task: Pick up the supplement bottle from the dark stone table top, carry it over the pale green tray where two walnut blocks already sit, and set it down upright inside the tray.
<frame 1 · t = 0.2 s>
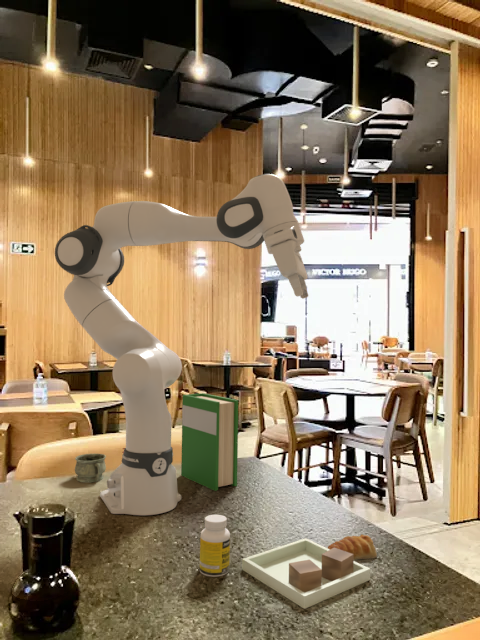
hand: (302, 296, 119), 52 cm above the table, tool tilted 20°, fingers open, 8 cm apart
walnut block B: (304, 590, 86), point 1 cm above the table, touching tray
pastry: (353, 558, 101), on the table
supplement bottle: (214, 573, 93), on the table
walnut block A: (337, 577, 91), point 1 cm above the table, touching tray
vessel: (90, 479, 149), on the table
tray: (305, 577, 92), on the table
hardback book: (208, 481, 149), on the table
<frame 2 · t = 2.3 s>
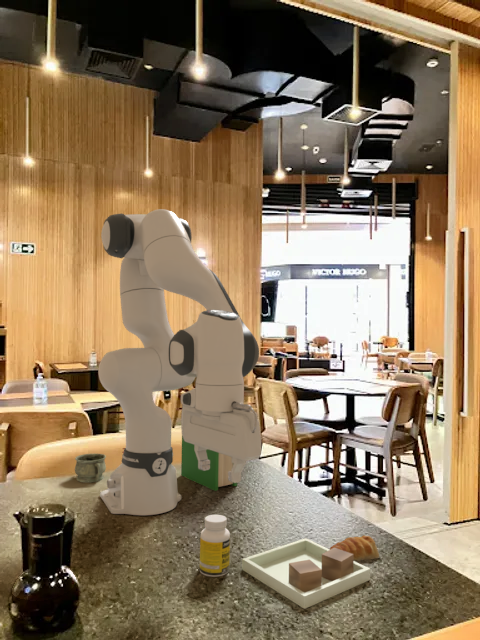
hand: (218, 475, 94), 17 cm above the table, tool pointing down, fingers open, 8 cm apart
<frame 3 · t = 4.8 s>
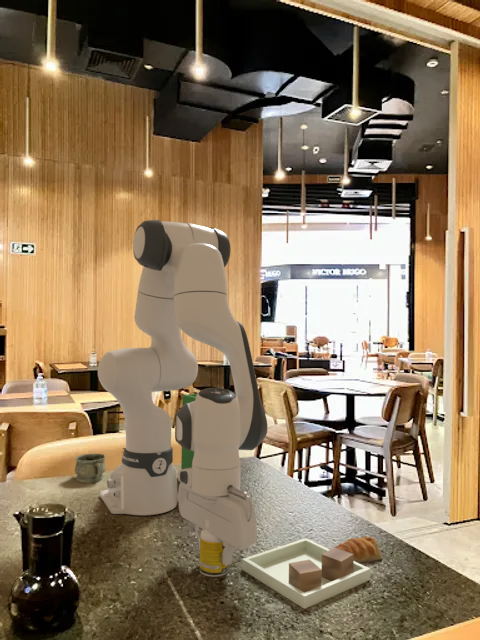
hand: (214, 556, 94), 3 cm above the table, tool pointing down, fingers closed on supplement bottle, 5 cm apart
supplement bottle: (214, 573, 93), on the table, touching gripper
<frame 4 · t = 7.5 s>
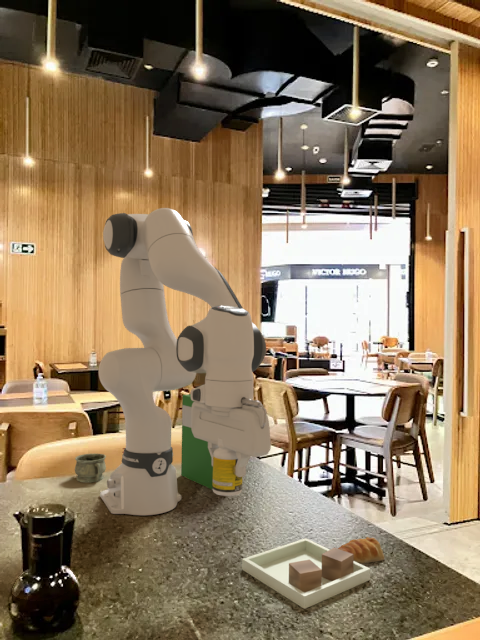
hand: (228, 471, 94), 18 cm above the table, tool pointing down, fingers closed on supplement bottle, 5 cm apart
supplement bottle: (227, 493, 94), point 14 cm above the table, touching gripper
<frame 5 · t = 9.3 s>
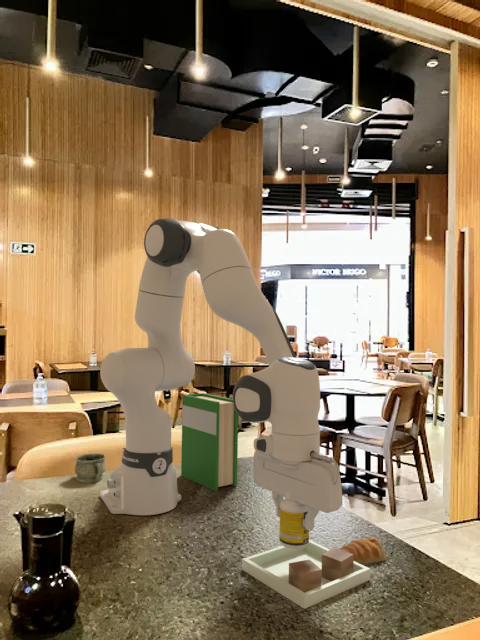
hand: (294, 522, 94), 9 cm above the table, tool pointing down, fingers closed on supplement bottle, 5 cm apart
supplement bottle: (294, 544, 94), point 5 cm above the table, touching gripper
when the fingers open (5 cm above the table, at t = 10.6 s): supplement bottle stays where it is, resting on tray.
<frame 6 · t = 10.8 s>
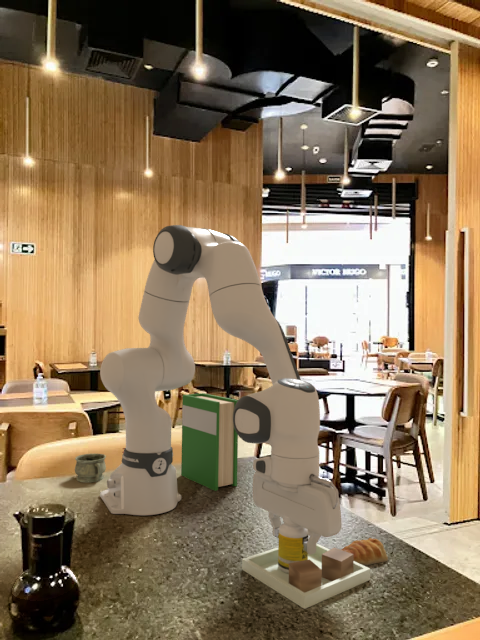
hand: (293, 544, 94), 5 cm above the table, tool pointing down, fingers open, 7 cm apart
supplement bottle: (292, 569, 94), resting on tray
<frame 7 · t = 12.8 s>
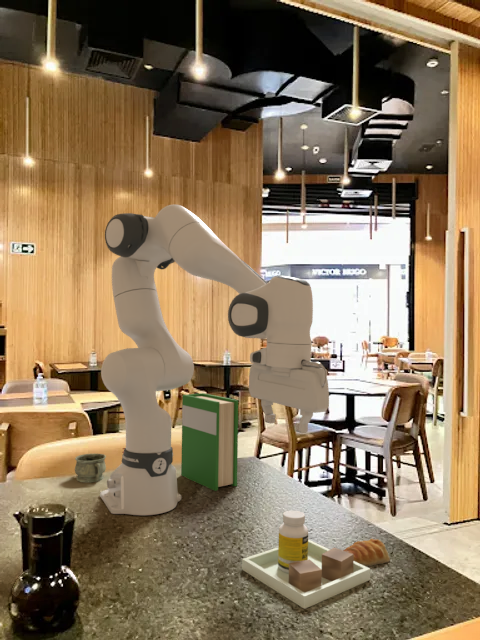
hand: (285, 427, 102), 25 cm above the table, tool pointing down, fingers open, 8 cm apart
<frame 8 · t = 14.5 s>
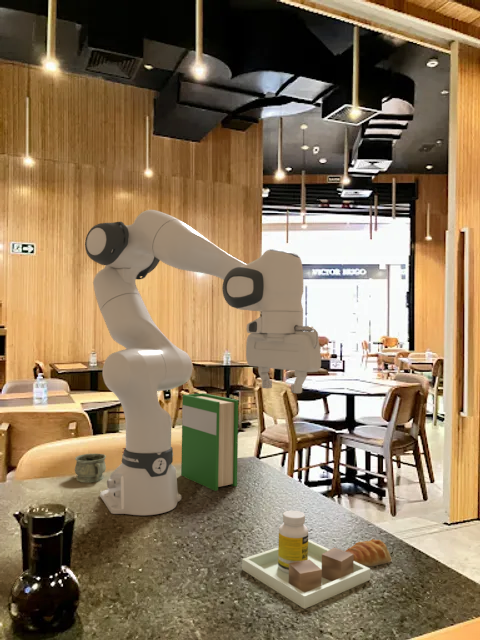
hand: (281, 390, 110), 31 cm above the table, tool pointing down, fingers open, 8 cm apart
at the end: supplement bottle inside the target area on the tray (3.1 cm from its centre), point 0.4 cm above the tray's base; supplement bottle tilted 0°; the gripper is holding nothing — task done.
